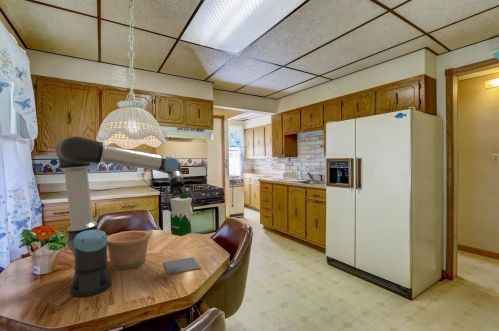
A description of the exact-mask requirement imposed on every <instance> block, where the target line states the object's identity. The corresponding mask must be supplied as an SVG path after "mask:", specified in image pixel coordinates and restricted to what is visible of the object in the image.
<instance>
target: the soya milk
mask: <svg viewBox="0 0 499 331" xmlns="http://www.w3.org/2000/svg"><path fill="white" fill-rule="evenodd" d="M188 197H189V195H188V193H186V194H180V195H179V197H174V199H170V198H169V201H171V206H172V211H173V212H174V217H173V218H172V217H171V235H172V236H178V237H185V236H186V235H188V234H191V233H192V222H191V221H192V220H191V218H192V216H191V201H192V198H190V197H189V198H188Z"/></svg>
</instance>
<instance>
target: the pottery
mask: <svg viewBox="0 0 499 331" xmlns="http://www.w3.org/2000/svg"><path fill="white" fill-rule="evenodd" d="M106 236H107V235H106ZM150 239H151V233H150V231H146V230H127V231H120V232H117V233H112V234H110V235H108V236H107V252H108V255H109V256H108V257H109V262H110V267H111V269H114V270H129V269H133V268H137V267H139V266H141V265H143V264H144V263H145V262H146V260H147V259H146V257H147V250H148V243H149V240H150Z"/></svg>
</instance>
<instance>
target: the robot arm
mask: <svg viewBox="0 0 499 331" xmlns="http://www.w3.org/2000/svg"><path fill="white" fill-rule="evenodd" d="M55 148H56V149H55V154H56V157H57V158H58V165H59V166H58V167H59V170H60V171H63V173H64V181H65V186H66V187H65V189H66V196H67V202H68V210H69V211H68V212H69V213H68V214H69V219H70V220H69V221H70V225H69V226H68V227H67V237H68V238H67V241H66V242H67V247H68V249H69V250H70V251H71V253H72V254H73V256H74V274H73V277H72V280H71V283H70V285H69V295H70V296H72V297H76V298H84V297H91V296H94V295H98V294H100V293H103V292H104V291H107V290H108V289H109V288H110V287H111V286H112V282H113V281H112V276H111V273H110V271H109V268H108V255H107V254H108V245H107V234H106V232H105V231H104V230H100V229H99V227H98V222H97V221H95V220H94V216H93V210H92V201H91V199H92V198H91V192H90V182H89V174H88V169H90V167H91V164H94V165H95V164H97V165H99V164H101V163H106V164H113V165H119V166H128V167H135V168H140V169H142V168H143V169H147V170H151V171H157V172H160V173H164V174H167V175H168V181H169V188H165V189H164V196H165V197H164V204H163V206H164V207H167V208H168V213H169V212H171V214H170V215H171V219H172V218H173V217H174V212H173V211H172V206H171V201H170V199H174V198H176V197H177V196H180V194H188V198H192V201H191V217H192V216H193V214H194V212H193V210H194V204H196V201H197V200H196V199H195V196H194V194H193V192H192V188H191V187H190V186H189V187H186V186H185V182H184V177H183V172H182V167H181V163H180V160H179V159H177V158H176V157H173V156H165V155H160V154H154V153H151V152H149V153H148V152H143V151H138V150H132V149H129V148H122V147H116V146H113V145H106V144H105V143H104V142H103V141H98V140H93V139H90V138H86V137H83V136H77V135H74V136H70V137H66V138H64V139H62V140H61V141H60V142H59V143H58V144H57V146H56V147H55ZM169 193H171V197H170V198H169V200H168V197H169Z"/></svg>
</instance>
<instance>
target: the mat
mask: <svg viewBox="0 0 499 331" xmlns="http://www.w3.org/2000/svg"><path fill="white" fill-rule="evenodd" d="M162 264H163V267H164V268H165V271H166V274H167V276H170V275H176V274H181V273H186V272H187V273H188V272H192V271H196V270H197V271H198V270H201V269H202V267H201V266H200V265H199V263H198V261H197V260H196V259H195V257H194V256H192V257H185V258H179V259H173V260H168V261H164V262H162Z"/></svg>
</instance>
